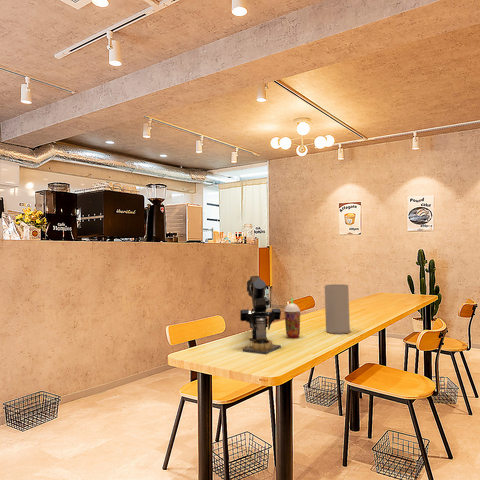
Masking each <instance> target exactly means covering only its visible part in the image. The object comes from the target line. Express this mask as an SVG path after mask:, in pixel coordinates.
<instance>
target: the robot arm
mask: <svg viewBox="0 0 480 480" xmlns="http://www.w3.org/2000/svg"><path fill="white" fill-rule="evenodd" d="M267 289H268V285H267V284H266V281H264V280H262V278H260V276H259V275H251V276H250V277H249V279H248V281H246V292H247V293H248V296H249V297H251V302H252V303H251V304H252V308H251V310H250V309H249V308H248V309H240V311H239V312H240V313H239V314H240V315H239V316H240V322H246V323H249V328H250V329H252V336H251V338H249V340H250V341H253V340H257V334H256V318H261V317H263V318H266V329H267V330H268V331H270V328H271V325H272V323H273V322H275V321H280V320H281V314H282V311H281V309H280V307H279V308H276V307H275V308H271V311H267V310H268V309H267V306H270V304H271V299H270V297H265V293H266V290H267Z"/></svg>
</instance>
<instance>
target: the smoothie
mask: <svg viewBox="0 0 480 480" xmlns="http://www.w3.org/2000/svg"><path fill="white" fill-rule="evenodd" d="M290 300H291V301H290V302H291V303H288V304H287V305H286V306H285V307H284V309H283V312H284V313H283V314H284V322H285V323H284V324H285V333H286V335H287V337H288V338H289V339H296V338H299V337H300V333H301V331H300V329H301V309H300V307H299V306H298V305H297V304H296V303H294V302H293V297H291V299H290Z"/></svg>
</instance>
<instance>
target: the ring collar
mask: <svg viewBox="0 0 480 480" xmlns="http://www.w3.org/2000/svg"><path fill="white" fill-rule="evenodd" d="M281 348H282V345H280V344H273V340H271V339H267V343H257V340H251V345H250V346H246V347H245V348H242V352H246V353H255V354H261V355H268V354H271V353H272V352H274V351H276V350H279V349H281Z"/></svg>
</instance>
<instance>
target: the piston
mask: <svg viewBox="0 0 480 480" xmlns="http://www.w3.org/2000/svg"><path fill="white" fill-rule="evenodd" d="M256 334H257V343H267V340H268V338H267V328H266V318H263V317H261V318H256Z"/></svg>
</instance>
